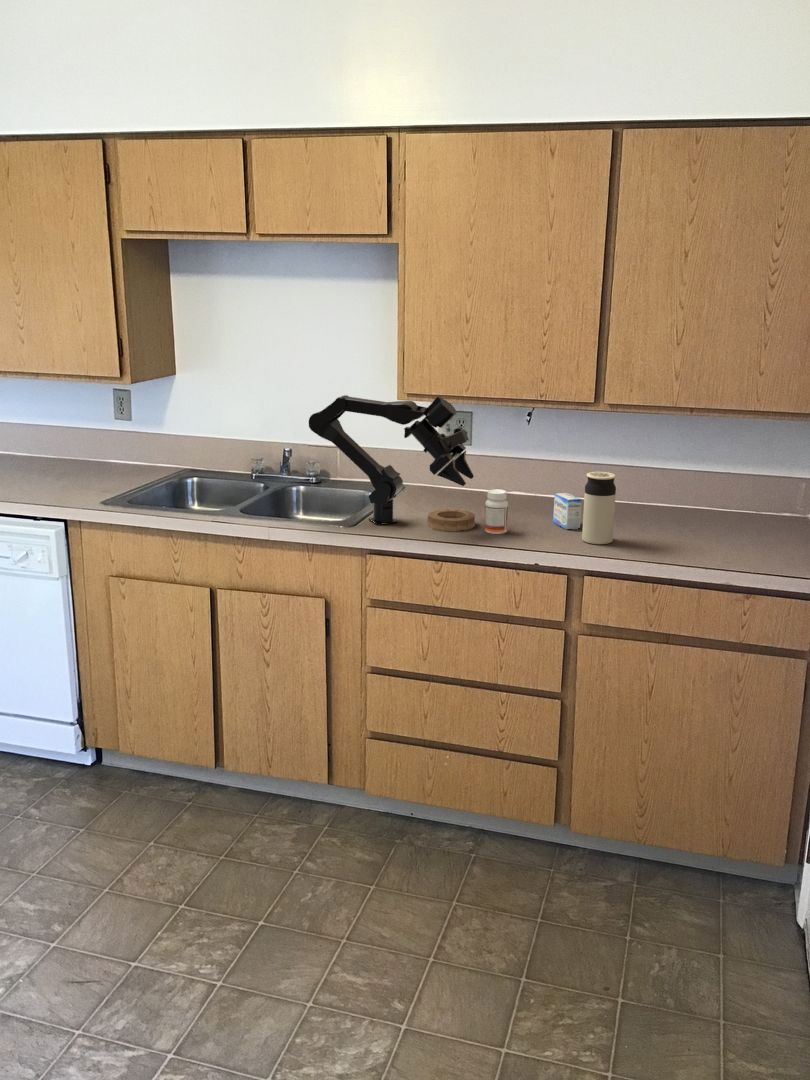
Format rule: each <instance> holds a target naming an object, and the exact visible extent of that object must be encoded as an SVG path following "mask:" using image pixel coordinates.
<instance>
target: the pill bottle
mask: <svg viewBox="0 0 810 1080" xmlns="http://www.w3.org/2000/svg"><path fill="white" fill-rule="evenodd" d="M507 495H508V494H507V491H506V490H504V489H489V490H487V499H486V501H485V504H484V505H485V506H484V508H485V509H484V531H485V532H486V533H488V534H491V535H503V534H506V533H507V532H508V519H509V517H508V516H509V503H508V500H506V499H507Z"/></svg>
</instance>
